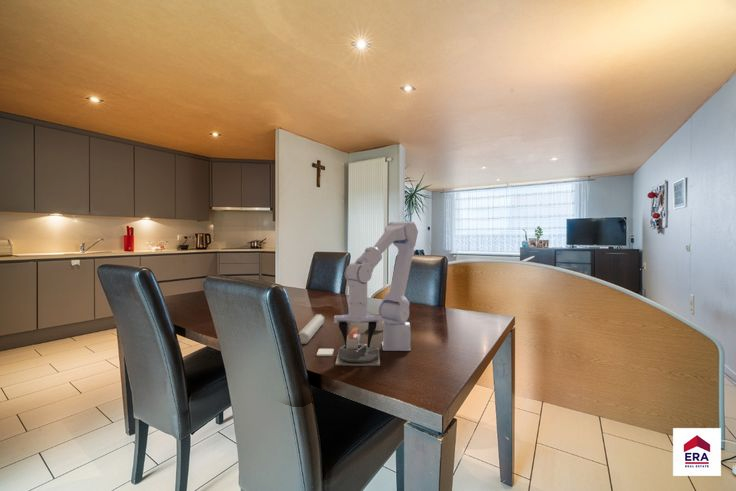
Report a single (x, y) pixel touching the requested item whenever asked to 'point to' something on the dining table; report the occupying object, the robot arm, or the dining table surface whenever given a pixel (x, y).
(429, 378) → the dining table surface
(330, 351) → the felt pad
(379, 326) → the grey square block
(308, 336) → the tube
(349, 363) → the chuck base
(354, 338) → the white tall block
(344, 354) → the grey base plate
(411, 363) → the dining table surface
